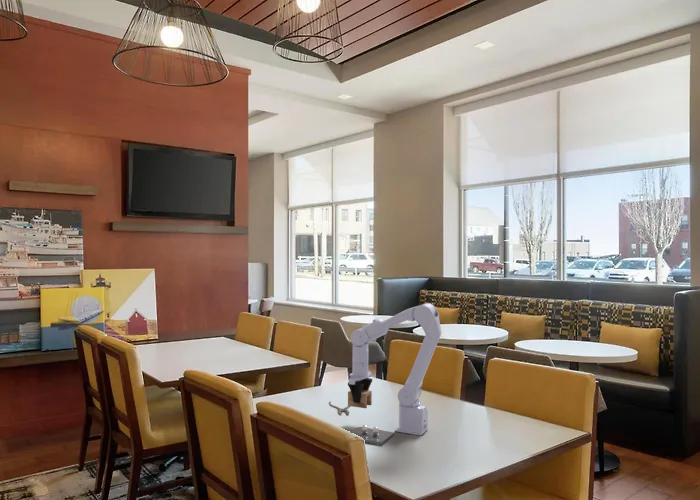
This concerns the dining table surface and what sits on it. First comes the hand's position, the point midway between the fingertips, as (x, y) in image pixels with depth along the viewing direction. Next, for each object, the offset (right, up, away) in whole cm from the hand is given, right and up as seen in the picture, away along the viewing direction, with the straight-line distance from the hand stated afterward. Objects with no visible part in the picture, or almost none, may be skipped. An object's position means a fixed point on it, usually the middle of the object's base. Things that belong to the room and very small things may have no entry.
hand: (360, 400), depth 191 cm
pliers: (-5, -9, +20) cm, 23 cm away
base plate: (+3, -8, -14) cm, 16 cm away
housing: (0, -2, 0) cm, 2 cm away
